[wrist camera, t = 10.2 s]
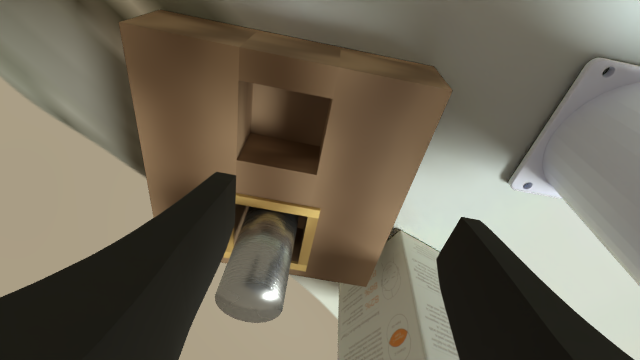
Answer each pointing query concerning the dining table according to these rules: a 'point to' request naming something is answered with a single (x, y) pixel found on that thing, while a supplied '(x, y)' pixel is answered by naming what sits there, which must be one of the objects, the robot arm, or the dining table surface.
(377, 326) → the small box
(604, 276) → the dining table surface
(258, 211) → the pin
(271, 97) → the board
